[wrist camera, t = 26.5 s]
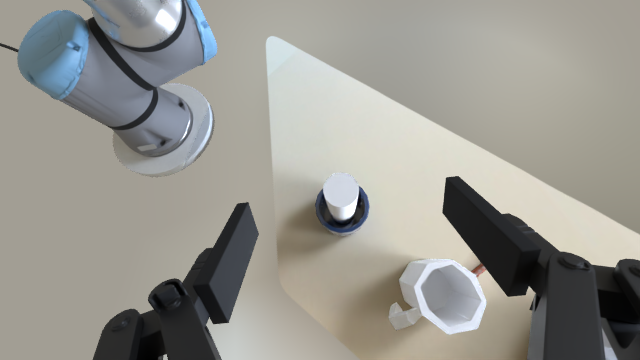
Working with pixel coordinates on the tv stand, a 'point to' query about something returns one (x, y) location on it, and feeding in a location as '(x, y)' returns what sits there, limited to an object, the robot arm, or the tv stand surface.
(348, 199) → the tube
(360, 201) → the cup
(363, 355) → the tv stand surface
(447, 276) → the mug
